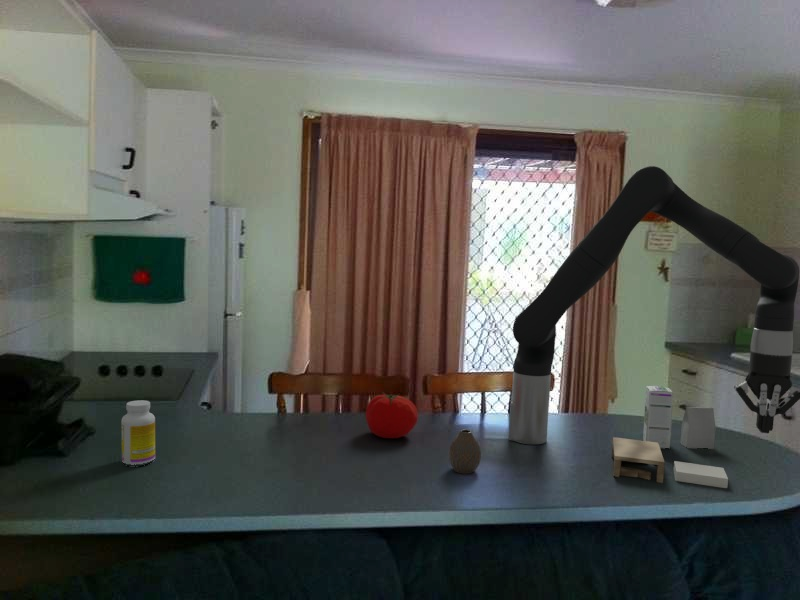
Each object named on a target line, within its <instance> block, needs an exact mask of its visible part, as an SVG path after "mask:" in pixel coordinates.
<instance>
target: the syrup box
mask: <svg viewBox="0 0 800 600" xmlns="http://www.w3.org/2000/svg"><path fill="white" fill-rule="evenodd" d="M673 398H674V392H673V391H672V390H671V388H669V387H668V386H660V385H646V387H645V399H644V400H645V402H644V413H643V414H644V417H643V433H642V441H649V442H658V444H659V447H660V449H665V448H669V449H670V447H671V435H672V420H673V419H672V417H673V401H674V400H673Z"/></svg>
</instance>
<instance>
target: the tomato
mask: <svg viewBox="0 0 800 600" xmlns="http://www.w3.org/2000/svg"><path fill="white" fill-rule="evenodd" d="M381 393H382V394H378V395H376V396H374V397H373V398H372V399H371V400H370V401H369V403H368V405H367V407H366V409H365V410H366V411H365V419H366V423H367V426H368V428H369V431H370V432H371V433H373V435H376V436H377V437H380V438H383V439H394V438H395V439H398V438H401V437H405V436H406V435H408V434H409V433H411V431H412V430H413V429H414V428H415V426H416V424H417V423H418V420H419V415H418V410H417V407H416V405H415V404H414V403H413V401H411V400H410V399H408V398H406V397H404V396H401V395H400V394H396V395H393V394H386V393H385V392H383V391H381Z"/></svg>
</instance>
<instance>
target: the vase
mask: <svg viewBox="0 0 800 600" xmlns="http://www.w3.org/2000/svg"><path fill="white" fill-rule="evenodd" d="M481 459H482V451H481V447H480V444H479V442H478V441H477V438H475V436H474V435H473V432H472V430H469V429H462V430H460V431H459V433H458V434H457V436H456V437H455V438H454V439H453V441H452V442H451V443H450V446H449V449H448V460H449V464H450V467H452V469H453V470H454V471H455V472H456V473H458V474H463V475H464V474H465V475H466V474H472V473H474V472H475V471H476V470H477V469H478V467H479V466H480V462H481Z"/></svg>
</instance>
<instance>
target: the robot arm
mask: <svg viewBox="0 0 800 600" xmlns="http://www.w3.org/2000/svg"><path fill="white" fill-rule="evenodd" d="M650 212H652V213H654V214H655V215H658V216H660V217H663V218H666V219H667V220H669V221H671V222H672V223H674V224H677V225H678V226H680V227H681V228H683V229H684V230H685V231H687V232H688V233H690V234H691V235H693V237H694V238H696V239H697V240H699V241H700V242H702V243H703V244H704V245H705V246H707V247H708V248H709V249H711V250H712V251H713V252H715V253H717V254H719V255H720V256H721V257H722V258H724V259H726V260H728V262H730V263H733V264H734V265H736V266H738V267H739V268H740V269H741V270H742V271H744V272H745V274H747V275H748V276H750V277H751V278H753V280H755V281H756V282H757V283H759V284H760V287H759V288H760V289H759V299H758V302H757V304H756V307H755V311H754V312H755V313H754V322H753V323H754V325H753V332H752V336H751V341H750V345H749V346H750V354H749V364H748V365H749V366H748V374H747V376H746V377H745V380H744V382H741V383H740V384H735V385H734V387H733V388H734V390H735V392H736V393H737V395H738V396H739V397H740V398H741V399H742V401H743V402H744V403H745V405H746V406H747V408H748V409H749V410H750V411H751V412H754V413H756V423H755V424H756V425H755V426H756V428H757V430H759V432H760V433H762V434H770V432H772V431H773V429H774V422H775V421H774V420H775V416H777V415H785V414H786V413H787V412H788V411H789V410H790V409H791V408H792V407H793V406H794V405H795V404H796V403H797V402H799V400H800V390H799V389H796V388H795V387H794V386H793V381H792V380H791V374H792V373H791V371H792V370H791V369H792V359H793V349H794V336H793V335H794V333H793V332H794V320H795V303H796V298H797V297H796V296H797V292H798V286H799V281H800V267H799V265H798V262H797V261H796V260H795V259H794V258H793V257H791V256H789V255H786V254H785V255H784V254H783V253H780V252H778V251H777V250H775V249H773V247H770V246H768V244H767V245H766V244H765V243H764V242H762V241H760V239H759V238H758V237H757V236H755V234H753V233H752V232H750V231H748V230H747V229H745V228H743V227H742V226H740V225H739V224H737V223H736V222H734V221H732V219H731V220H730V219H729V218H727V217H725V216H724V215H721V214H719V213H718V212H715V211H714V210H712V209H709V208H707V207H706V206H704V205H702V204H701V203H699V202H698V201H696V200H695V199H693V198H692V197H691V196H689V195H688V194H687V193H686V191H685V192H684V191H683V190H682V188H680V187H679V186H678V185H677V184H676V183H675V182H674V180H673V178H672V177H671V176H670V175H669V174H668V173H667V172H666V171H665V170H664V169H662V168H661V167H659V166H656V165H655V166H654V165H648V166H643V167H641V168H640V169H638V170H636V171H635V172H634V173H633V174H632V175H631V176H630V177H629V179H628V180H627V182H626V183H625V185H624V186H623V187H622V189H621V190H620V192H619V194H618V195H617V197H616V198H615V200H614V201H613V203H611V206H610V207H609V208H608V209H607V211H606V212H605V213H604V214H603V215H602V217H600V219H598V221H597V222H595V224H594V225H593V226H592V228H591V229H590V230H589V231H588V232H587V234H586V235H585V236H583V239H582V240H581V241H579V242H578V244H577V245H576V246H575V247H574V249H572V251H571V252H570V254H569V255H568V256H567V257H566V258H565V260H564V261H563V263H561V265H560V266H559V267H558V269H557V271H556V272H555V274H553V277H552V278H551V279H550V280H549V281H548V284H547V285H546V286H545V288H544V289H543V290H542V292H540V293H539V295H537V297H535V299H533V301H532V302H531V303H529V305H528V306H527V307H526V308H525V309H523V310H522V311H521V312H520V313H519V314H517V316H516V318H515V319H514V322H513V324H512V334H513V337H514V339H515V341H516V342H517V343H518V345H517V346H518V347H517V352H516V355H515V357H514V358H515V359H514V361H513V370H512V371H513V372H512V391H511V402H510V406H509V421H508V424H509V425H508V438H507V440H508V441H513V442H516V443H519V444H524V445H525V444H526V445H542V444H545V443H546V442H547V439H548V426H549V423H548V422H549V410H550V395H551V379H552V378H551V377H552V375H551V373H552V367H553V362H554V357H555V347H556V346H555V345H556V336H557V335H556V334H557V326H556V325H557V324H558V322H559V321H560V320H561V318H562V317H563V316H564V314H565V313H566V312H568V310H569V308H570V307H572V306H573V305H574V304H575V303H576V302H578V301H579V299H581V298H582V297H584V296H585V295H586V294H587V293H588V292H589V291H590V290H591V289H592V288H594V287H595V286H596V284H597V283H598V282H599V281H600V280H601V279H602V278H603V277H604V276H605V274H606V273H607V272H608V271H609V270H610V269H611V267H612V266H613V264H614V263H615V262H616V261H617V259H618V257H619V256H620V254H621V252H622V250H623V247H624V246H625V244H626V242H627V241H628V238H629V236H630V235H631V233H632V231H633V230H634V229H635V228H636V226H637V225H638V224H639V223H640V222H641V221H642V220H643V219H644V218H645V217H646V216H647V214H649V213H650ZM748 388H749V389H750V390H751V392H752V394H753V395H754V396H755V397H756V399H755V400H756V404H754V402H753V401H752V400H751V398H750V397H749V396H748V393H749V389H748ZM785 394H786V397H785V398H784V399H783V400H782V401H780V403H779V400H780V399H781V398H782V397H783V396H784V395H785Z"/></svg>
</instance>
